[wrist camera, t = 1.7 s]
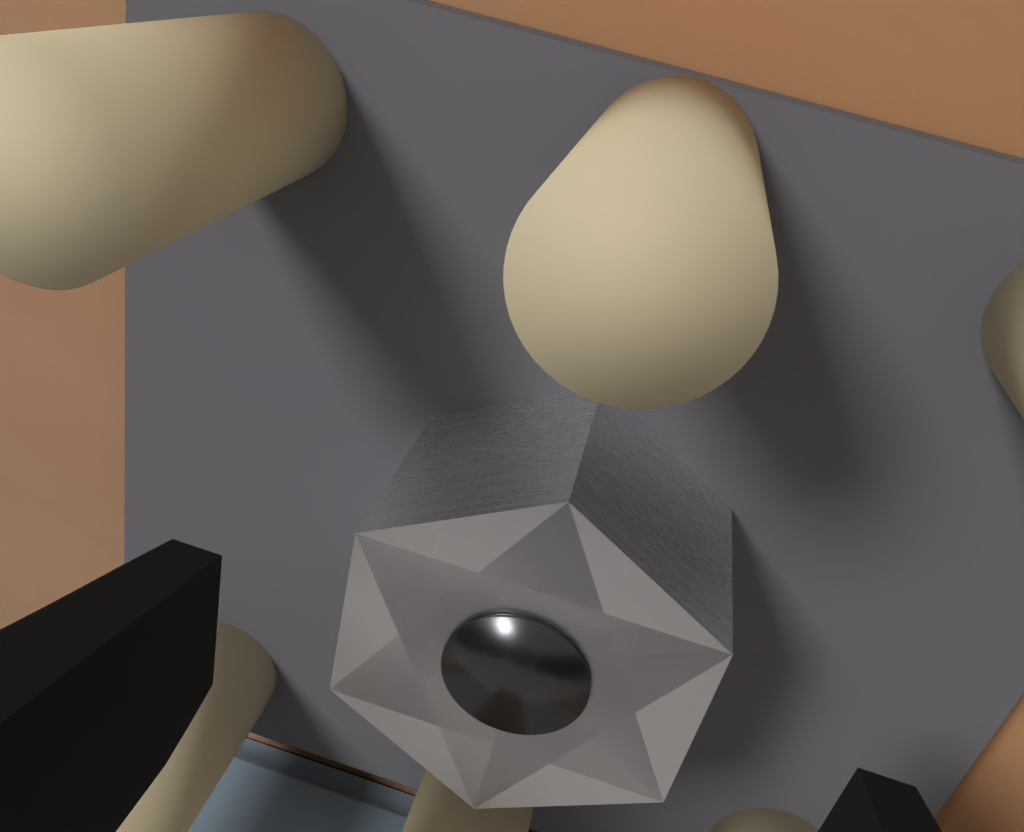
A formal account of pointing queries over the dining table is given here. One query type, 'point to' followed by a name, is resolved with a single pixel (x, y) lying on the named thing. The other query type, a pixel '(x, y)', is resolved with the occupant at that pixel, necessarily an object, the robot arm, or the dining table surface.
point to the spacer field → (545, 360)
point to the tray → (297, 797)
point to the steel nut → (540, 605)
